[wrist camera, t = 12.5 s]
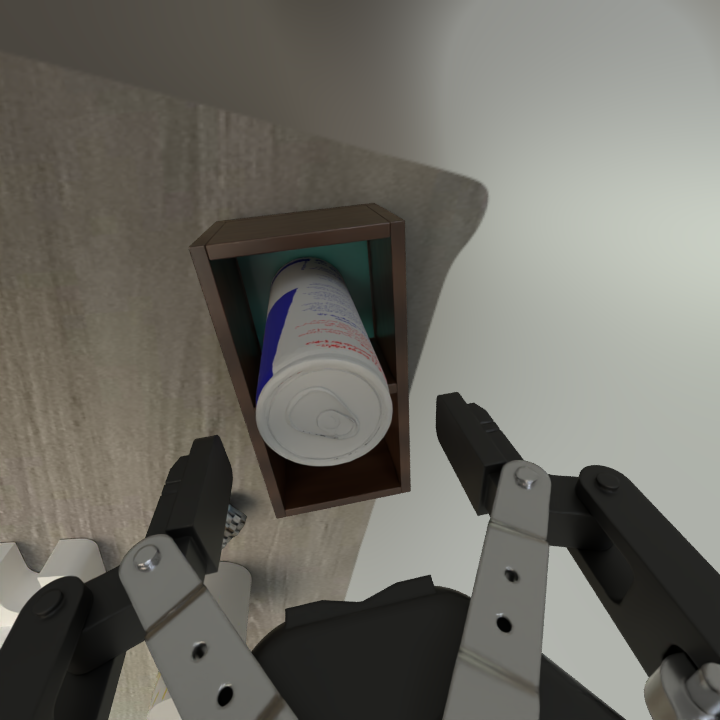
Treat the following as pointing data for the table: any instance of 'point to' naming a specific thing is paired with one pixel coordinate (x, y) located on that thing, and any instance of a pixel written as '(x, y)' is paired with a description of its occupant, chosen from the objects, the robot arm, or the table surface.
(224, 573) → the cup
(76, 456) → the table surface
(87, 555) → the bracket
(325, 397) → the beverage can
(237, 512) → the wristwatch
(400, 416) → the caddy
